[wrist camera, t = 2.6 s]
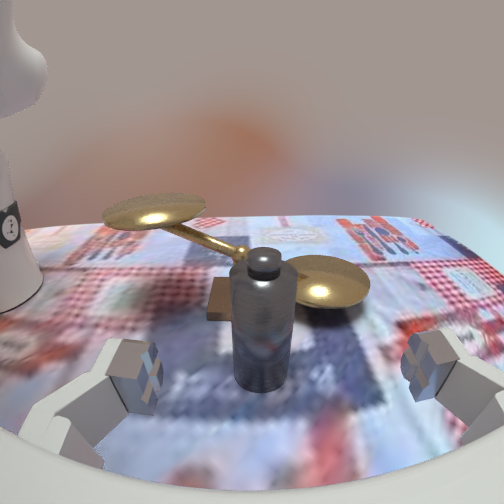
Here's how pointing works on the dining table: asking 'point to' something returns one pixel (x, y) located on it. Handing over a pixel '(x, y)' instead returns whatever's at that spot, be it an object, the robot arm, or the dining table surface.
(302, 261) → the balance
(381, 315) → the dining table surface
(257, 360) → the iron weight
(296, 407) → the dining table surface
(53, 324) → the dining table surface
